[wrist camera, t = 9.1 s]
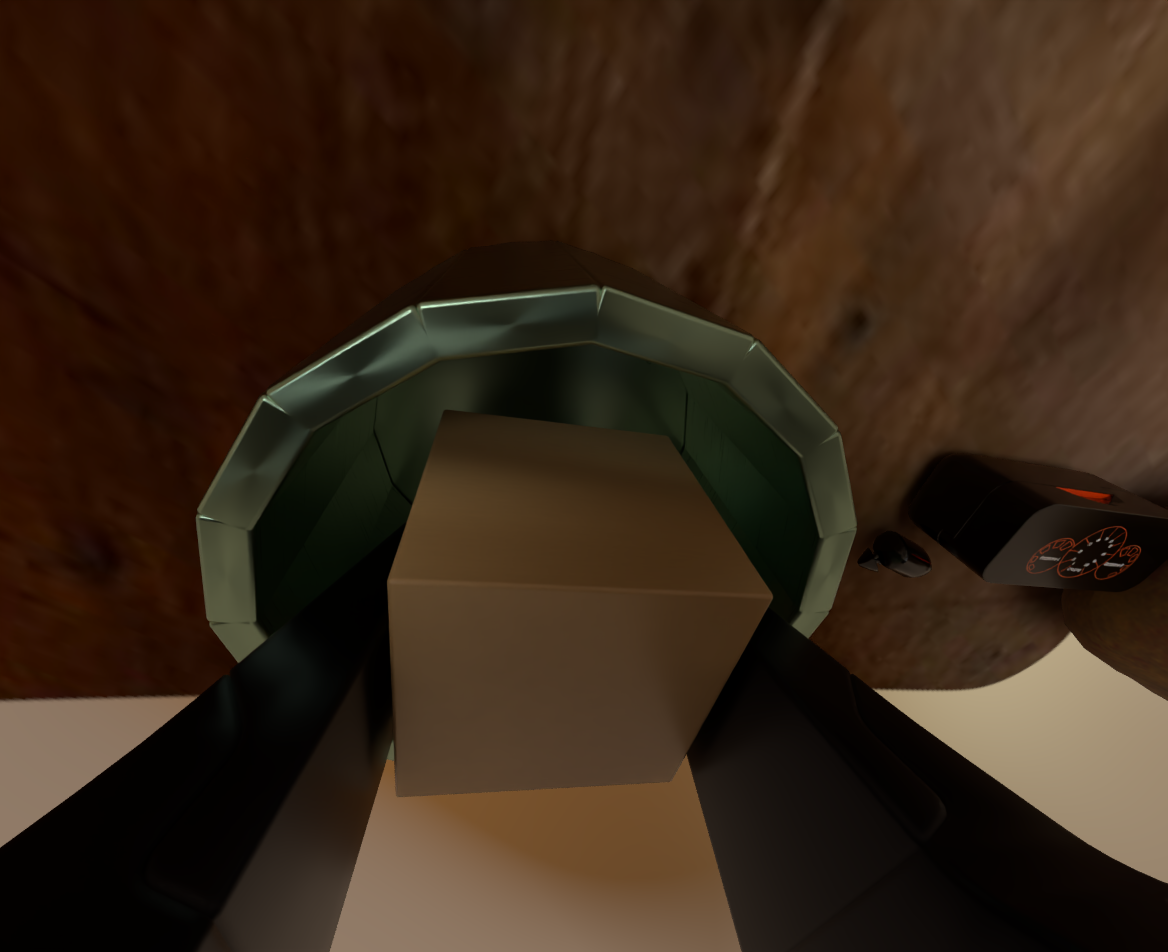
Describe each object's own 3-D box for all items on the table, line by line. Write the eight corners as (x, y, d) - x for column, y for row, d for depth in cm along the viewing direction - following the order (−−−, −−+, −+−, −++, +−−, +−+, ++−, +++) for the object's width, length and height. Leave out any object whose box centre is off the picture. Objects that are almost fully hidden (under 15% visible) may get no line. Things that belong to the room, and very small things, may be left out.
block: (437, 584, 9) (395, 798, 6) (443, 407, 7) (385, 580, 4) (619, 591, 10) (672, 784, 7) (668, 434, 8) (776, 596, 5)
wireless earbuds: (919, 440, 14) (1019, 498, 11) (1084, 466, 15) (1207, 523, 13) (845, 554, 16) (913, 625, 13) (996, 567, 18) (1084, 633, 15)
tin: (290, 460, 12) (94, 688, 6) (496, 132, 9) (468, 18, 3) (560, 597, 16) (586, 810, 10) (765, 402, 13) (956, 555, 7)
